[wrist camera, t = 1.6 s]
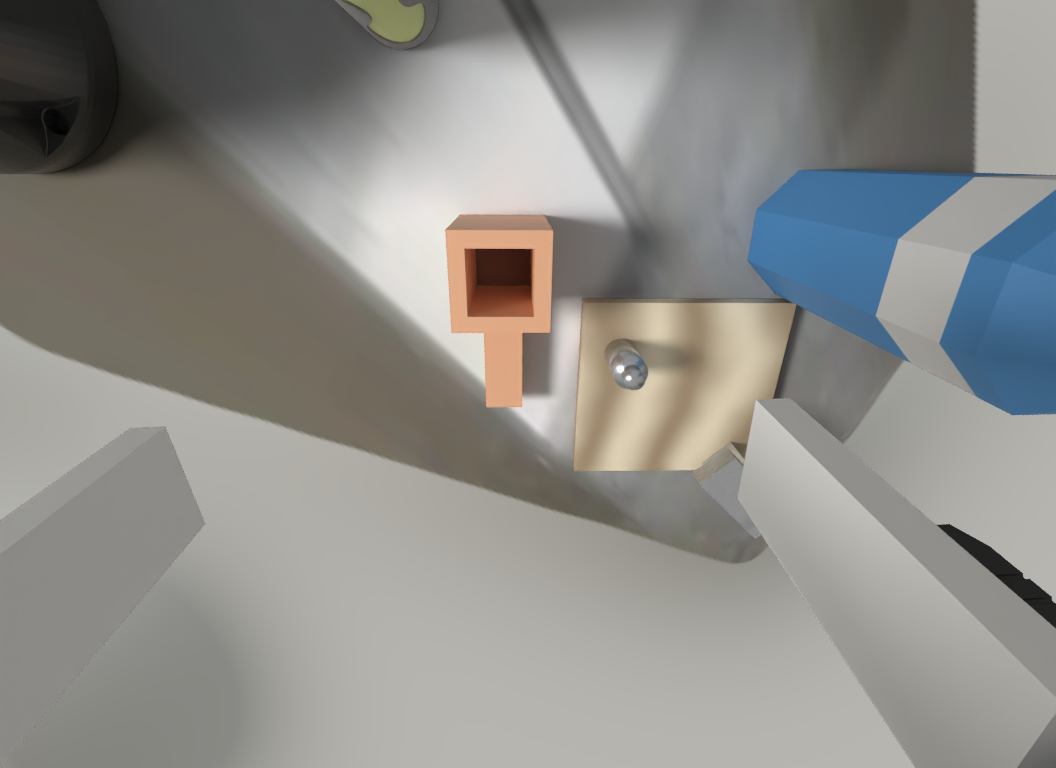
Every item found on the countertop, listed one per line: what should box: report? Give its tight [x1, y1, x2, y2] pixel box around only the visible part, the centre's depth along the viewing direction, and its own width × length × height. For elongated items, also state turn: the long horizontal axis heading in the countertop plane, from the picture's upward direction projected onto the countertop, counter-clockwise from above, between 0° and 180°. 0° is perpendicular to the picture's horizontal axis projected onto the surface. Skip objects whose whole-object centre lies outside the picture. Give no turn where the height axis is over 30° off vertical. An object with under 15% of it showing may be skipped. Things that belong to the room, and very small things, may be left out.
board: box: [573, 299, 797, 471], centre depth 40 cm, size 16×15×1 cm
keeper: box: [693, 442, 761, 538], centre depth 38 cm, size 7×3×9 cm, turn 45°
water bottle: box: [748, 169, 1056, 415], centre depth 24 cm, size 9×9×25 cm
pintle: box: [604, 339, 648, 390], centre depth 35 cm, size 2×2×5 cm
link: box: [445, 215, 553, 407], centre depth 33 cm, size 14×6×8 cm, turn 179°
